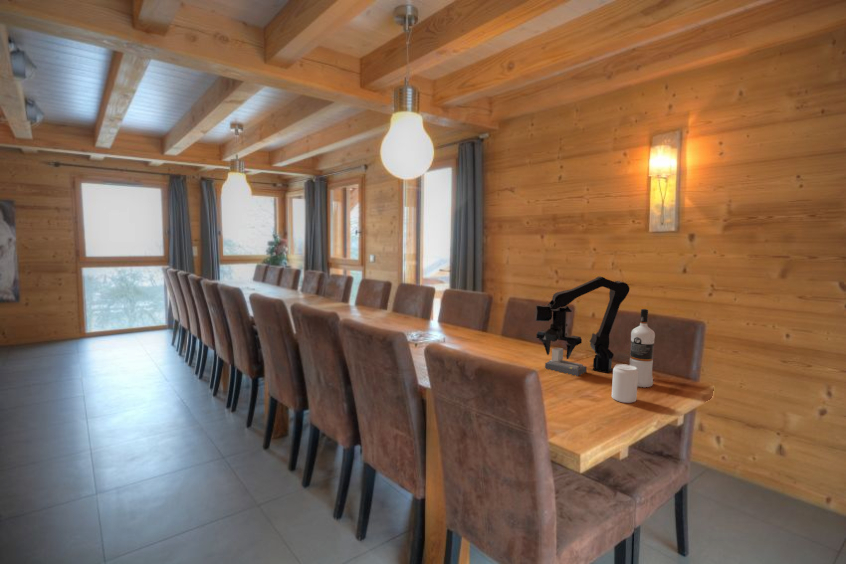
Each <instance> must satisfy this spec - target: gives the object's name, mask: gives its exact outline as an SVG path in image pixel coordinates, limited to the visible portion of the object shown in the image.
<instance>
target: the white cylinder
mask: <svg viewBox="0 0 846 564" xmlns="http://www.w3.org/2000/svg"><path fill="white" fill-rule="evenodd" d="M612 369H613V370H612V384H611V398H612V399H613V400H615V401H617V402H620V403H623V404H632V403H635V402H636V401H637V395H638V387H637V383H638V371H637V368H636V367H634V366H631V365H630V364H625V363H624V364H623V363H617V364H615V365H614V367H613V368H612Z"/></svg>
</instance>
